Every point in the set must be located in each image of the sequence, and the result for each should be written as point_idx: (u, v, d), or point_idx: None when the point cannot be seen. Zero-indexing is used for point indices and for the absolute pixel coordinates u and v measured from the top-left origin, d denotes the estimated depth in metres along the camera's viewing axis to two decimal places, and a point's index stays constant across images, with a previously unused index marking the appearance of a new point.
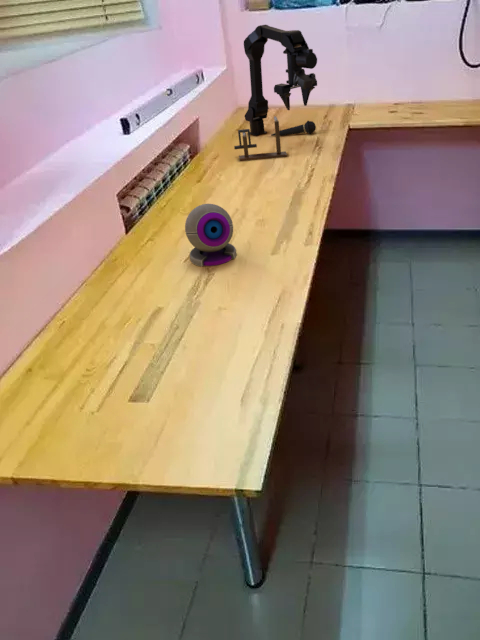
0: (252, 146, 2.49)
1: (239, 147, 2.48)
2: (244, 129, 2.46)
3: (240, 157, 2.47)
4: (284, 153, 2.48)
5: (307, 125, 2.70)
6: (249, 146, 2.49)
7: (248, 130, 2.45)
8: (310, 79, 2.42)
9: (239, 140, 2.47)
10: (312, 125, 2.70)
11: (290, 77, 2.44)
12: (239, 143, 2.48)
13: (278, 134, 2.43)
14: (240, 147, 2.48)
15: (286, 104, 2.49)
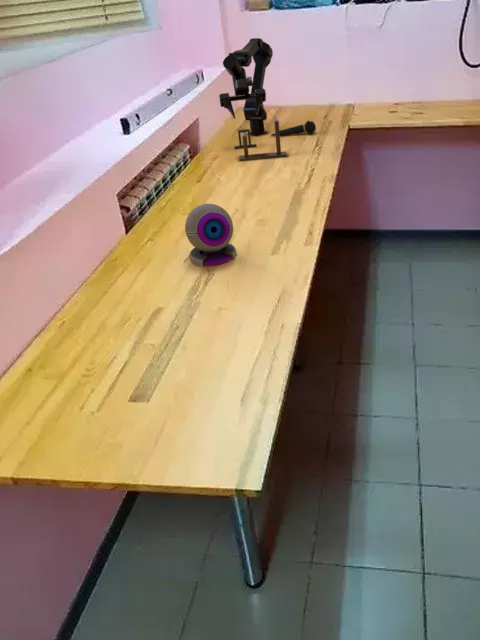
0: (252, 146, 2.49)
1: (239, 147, 2.48)
2: (244, 129, 2.46)
3: (240, 157, 2.47)
4: (284, 153, 2.48)
5: (307, 125, 2.70)
6: (249, 146, 2.49)
7: (248, 130, 2.45)
8: None
9: (239, 140, 2.47)
10: (312, 125, 2.70)
11: (234, 90, 2.51)
12: (239, 143, 2.48)
13: (278, 134, 2.43)
14: (240, 147, 2.48)
15: (231, 113, 2.50)
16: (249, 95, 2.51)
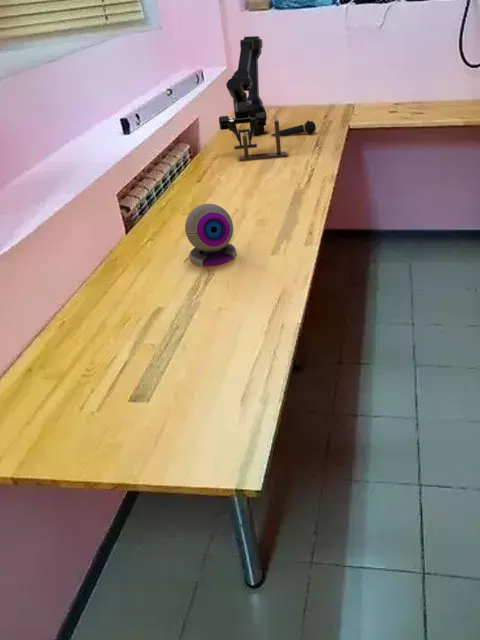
0: (252, 146, 2.49)
1: (239, 147, 2.48)
2: (244, 129, 2.46)
3: (240, 157, 2.47)
4: (284, 153, 2.48)
5: (307, 125, 2.70)
6: (249, 146, 2.49)
7: (248, 130, 2.45)
8: None
9: (239, 140, 2.47)
10: (312, 125, 2.70)
11: None
12: (239, 143, 2.48)
13: (278, 134, 2.43)
14: (240, 147, 2.48)
15: (236, 135, 2.47)
16: (249, 119, 2.48)
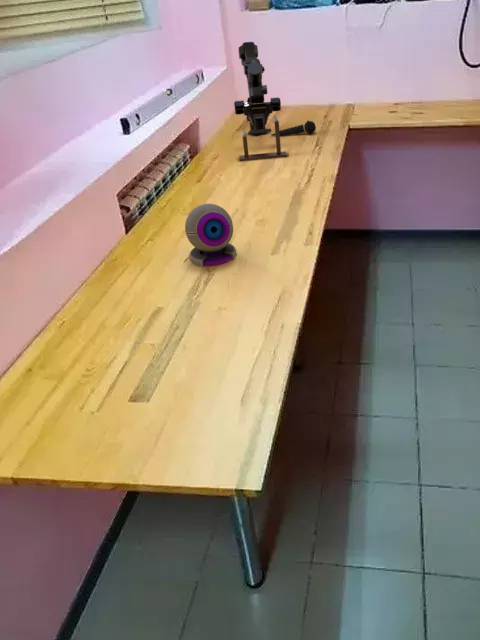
0: (267, 131, 2.52)
1: (254, 132, 2.52)
2: (259, 114, 2.50)
3: (240, 157, 2.47)
4: (284, 153, 2.48)
5: (307, 125, 2.70)
6: (264, 131, 2.52)
7: (263, 115, 2.49)
8: None
9: (254, 125, 2.51)
10: (312, 125, 2.70)
11: None
12: (254, 128, 2.51)
13: (278, 134, 2.43)
14: (255, 132, 2.52)
15: (251, 120, 2.50)
16: None
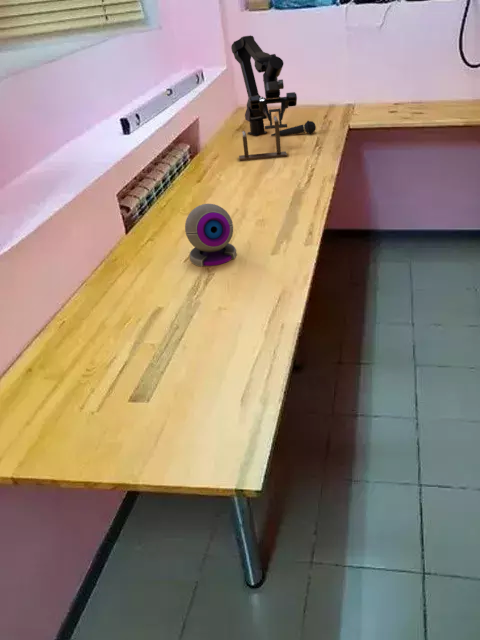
0: (283, 126, 2.48)
1: (270, 127, 2.48)
2: (275, 109, 2.45)
3: (240, 157, 2.47)
4: (284, 153, 2.48)
5: (307, 125, 2.70)
6: (280, 126, 2.48)
7: (279, 110, 2.45)
8: None
9: (270, 120, 2.46)
10: (312, 125, 2.70)
11: None
12: (270, 123, 2.47)
13: (278, 134, 2.43)
14: (271, 127, 2.48)
15: (266, 115, 2.46)
16: None
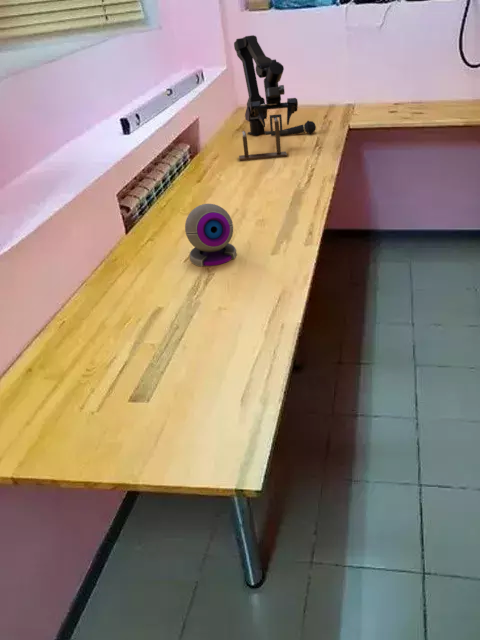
0: (283, 132, 2.47)
1: (270, 133, 2.47)
2: None
3: (240, 157, 2.47)
4: (284, 153, 2.48)
5: (307, 125, 2.70)
6: (280, 132, 2.47)
7: (280, 115, 2.43)
8: None
9: (270, 125, 2.45)
10: (312, 125, 2.70)
11: None
12: None
13: (278, 134, 2.43)
14: (271, 133, 2.47)
15: (261, 121, 2.45)
16: (281, 104, 2.46)
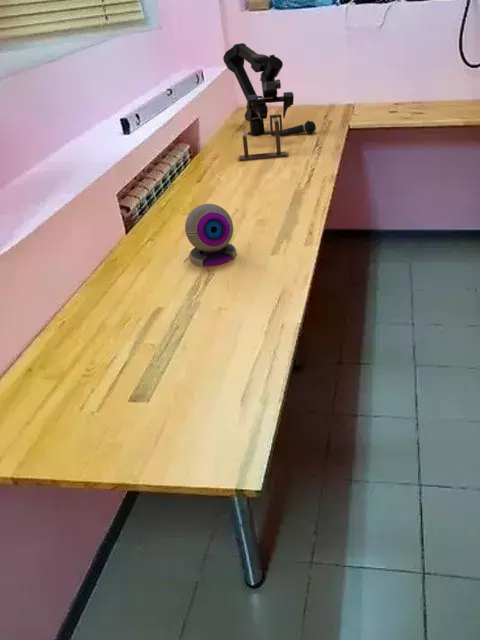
0: (283, 132, 2.47)
1: (270, 133, 2.47)
2: None
3: (240, 157, 2.47)
4: (284, 153, 2.48)
5: (307, 125, 2.70)
6: (280, 132, 2.47)
7: (280, 115, 2.43)
8: None
9: (270, 125, 2.45)
10: (312, 125, 2.70)
11: None
12: None
13: (278, 134, 2.43)
14: (271, 133, 2.47)
15: (258, 114, 2.52)
16: (277, 98, 2.54)
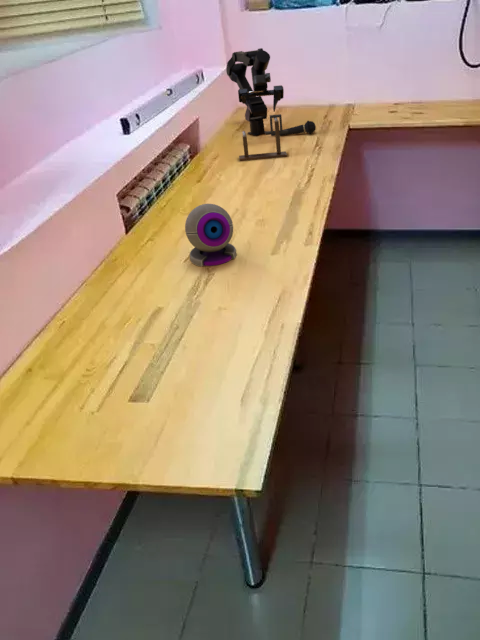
0: (283, 132, 2.47)
1: (270, 133, 2.47)
2: None
3: (240, 157, 2.47)
4: (284, 153, 2.48)
5: (307, 125, 2.70)
6: (280, 132, 2.47)
7: (280, 115, 2.43)
8: None
9: (270, 125, 2.45)
10: (312, 125, 2.70)
11: None
12: None
13: (278, 134, 2.43)
14: (271, 133, 2.47)
15: (249, 108, 2.55)
16: (267, 91, 2.56)
